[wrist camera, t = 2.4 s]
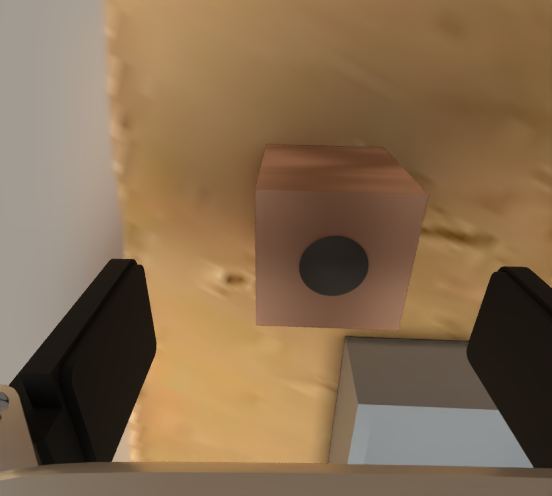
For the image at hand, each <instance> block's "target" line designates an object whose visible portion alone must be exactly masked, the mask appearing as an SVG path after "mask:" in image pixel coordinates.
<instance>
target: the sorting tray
mask: <svg viewBox="0 0 552 496" xmlns="http://www.w3.org/2000/svg"><path fill="white" fill-rule="evenodd" d="M468 343H469V341H443V340H417V339H391V338H366V337H345V343H344V350H343V357H342V365H341V372H340V379H339V386H338V393H337V401H336V408H335V415H334V422H333V430H332V437H331V444H330V451H329V458H328V464H374V465H428V466H476V467H518V468H534V467H533V466H532V464H531V463H530V461H529V459H528V458H527V456H526V454H525V453H524V451H523V450H522V448H521V446H520V445H519V443H518V441H517V440H516V438H515V436H514V435H513V433H512V432H511V430H510V428H509V427H508V425H507V423H506V422H505V420H504V419H503V417H502V415H501V414H500V412H499V410H498V409H497V407H496V405H495V404H494V402H493V401H492V399H491V397H490V396H489V394H488V392H487V391H486V389H485V388H484V386H483V384H482V383H481V381H480V379H479V378H478V376H477V375H476V373H475V371H474V370H473V368H472V366H471V365H470V363H469V361H468V359H467V354H466V350H467V346H468Z"/></svg>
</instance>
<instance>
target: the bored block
mask: <svg viewBox="0 0 552 496" xmlns="http://www.w3.org/2000/svg"><path fill="white" fill-rule="evenodd" d="M428 196H429V195H428V194H427V193H426V192H425V191H424V190H423V189H422V188H421V186H420V185H419V184H418V183H417V182H416V181H415V180H414V179H413V178H412V177H411V176H410V175H409V174H408V173H407V172H406V171H405V170H404V169H403V168H402V167H401V166H400V165H399V164H398V162H397V161H396V160H395V159H394V158H393V157H392V156H391V155H390V154H389V153H388V152H387V151H386V150H385V149H384V148H383V147H350V146H314V145H277V144H266V148H265V152H264V156H263V160H262V164H261V168H260V172H259V176H258V180H257V184H256V188H255V250H256V325H262V326H289V327H316V328H343V329H370V330H397V331H399V326H400V322H401V317H402V313H403V308H404V304H405V299H406V295H407V290H408V286H409V281H410V277H411V272H412V268H413V263H414V259H415V254H416V250H417V245H418V241H419V236H420V232H421V227H422V223H423V218H424V214H425V209H426V205H427V200H428Z"/></svg>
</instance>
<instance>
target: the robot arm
mask: <svg viewBox="0 0 552 496" xmlns="http://www.w3.org/2000/svg"><path fill="white" fill-rule="evenodd" d="M155 353H156V337H155V331H154V325H153V319H152V313H151V307H150V302H149V296H148V290H147V284H146V278H145V272H144V268H143V266H142V265H137V262H136V261H135V260H134V259H111V260H110V261H109V262H108V263H107V264H106V266H105V267H104V268H103V270H102V271H101V272H100V273H99V274H98V276H97V277H96V278H95V279H94V281H93V282H92V283H91V284H90V285H89V287H88V288H87V289H86V291H85V292H84V293H83V294H82V295H81V297H80V298H79V299H78V301H77V302H76V303H75V304H74V305H73V307H72V308H71V309H70V310H69V312H68V313H67V314H66V315H65V316H64V318H63V319H62V320H61V322H60V323H59V324H58V325H57V326H56V328H55V329H54V330H53V331H52V333H51V334H50V335H49V336H48V337H47V339H46V340H45V341H44V342H43V344H42V345H41V346H40V347H39V349H38V350H37V351H36V353H35V354H34V355H33V356H32V357H31V358H30V360H29V361H28V362H27V363H26V365H25V366H24V367H23V368H22V370H21V371H20V372H19V373H18V375H17V376H16V377H15V378H14V380H13V381H12V382H11V383H10V384H9V386H7V385H0V496H552V288H551V287H550V286H549V285H547V284H546V283H545V282H544V281H543V280H542V279H541V278H539V277H538V276H537V275H536V274H535V273H534V272H532V271H531V270H530V269H529V268H527V267H501V268H500V269H499V270H498V271H497V272H494V273H493V274H492V276H491V278H490V281H489V284H488V287H487V290H486V293H485V295H484V298H483V301H482V304H481V307H480V310H479V313H478V316H477V319H476V322H475V325H474V328H473V331H472V334H471V337H470V340H469V343H468V346H467V350H466V354H467V359H468V361H469V363H470V365H471V366H472V368H473V370H474V371H475V373H476V375H477V376H478V378H479V379H480V381H481V383H482V384H483V386H484V388H485V389H486V391H487V392H488V394H489V396H490V397H491V399H492V401H493V402H494V404H495V405H496V407H497V409H498V410H499V412H500V414H501V415H502V417H503V419H504V420H505V422H506V423H507V425H508V427H509V428H510V430H511V432H512V433H513V435H514V436H515V438H516V440H517V441H518V443H519V445H520V446H521V448H522V450H523V451H524V453H525V454H526V456H527V458H528V459H529V461H530V463H531V464H532V466H533V467H534V468H518V467H476V466H428V465H374V464H315V463H238V462H112V459H113V457H114V454H115V452H116V450H117V447H118V445H119V442H120V440H121V437H122V435H123V433H124V430H125V428H126V425H127V423H128V420H129V418H130V415H131V413H132V410H133V408H134V406H135V403H136V401H137V398H138V396H139V393H140V391H141V388H142V386H143V383H144V381H145V378H146V376H147V374H148V371H149V369H150V366H151V364H152V361H153V359H154V356H155Z"/></svg>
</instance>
